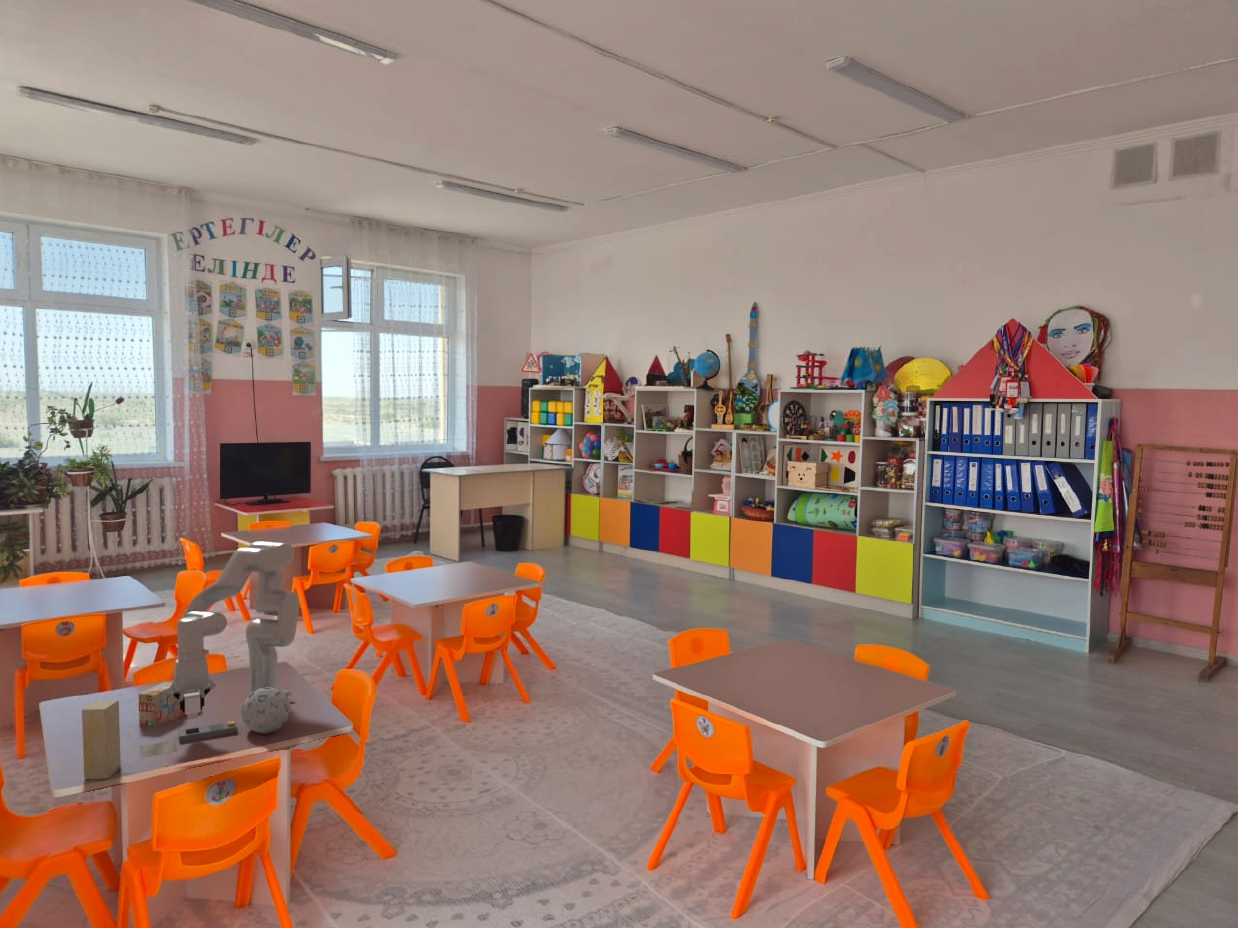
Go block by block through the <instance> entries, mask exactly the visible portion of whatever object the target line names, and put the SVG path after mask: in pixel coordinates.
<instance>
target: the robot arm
mask: <svg viewBox="0 0 1238 928" xmlns="http://www.w3.org/2000/svg"><path fill="white" fill-rule="evenodd" d="M295 552H296V551H295V548H294V547H293V546H292V545H291V544H289V543H287V542H279V541H276V542H275V541H268V540H267V541H263V540H259V541H254V542H252V543H251V544H249V545H248V547H240V548H238V549H236V550H235V551H234V552H233V553H232V555H231V556H230V558H229V559H228V561H227V563H226V565H225V567H224V568H223V570H222V572H221V573H220V575H219V577H218V578H217V579H216V581H215V582H214V583H212V584H211V585H209V586H207V587H206V588H205V589H203V590H202V591H200V592H199V593H198V594H197V595H196V596H195V597H194V598H192V600H190V601H191V602H190V603H189V605H188V606H187V608H186V609H185V611H184V613H183V615H182V618H180V619H179V620H178V621H177V624H176V625H177V626H176V628H177V629H176V630H177V659H176V660H175V662H174V668H173V669H174V670H173V682H172V685H171V686H170V688H169V689H168V690H167V693H168V694H170V695H172V696H174V697H176V698H177V699H178V700H179V701H180V710H182V711H183V713H185V700H184V694H185V691H192V690H198V691H199V694H200V711H202V710H203V707H205V697H206V696H207V695H208V694H209V693H210V692H211V691H212V690H213V689H214V688H216V686H217V684H216V682H214V680H213V679H212V678H211V677H210V673H209V672H210V671H209V664H208V658H207V656H206V655H208V654H210V651H209V649H205V646H204V642H205V640H204V639H205V637H212V636H216V635H220V633H222V632H223V631H224V630H226V627H227V625H228V620H227V617H226V616H225V615H224V614H223V613H222V612H221V613H220V612H217V611H215V612H214V611H208V609H209V608H210V607H211V606H213V605H214V604H216V603H218V602H220V601H224V600H226V599H229V598H232V597H235V596H237V595H239V594H240V593H241V591H243V588H244V586H245V585H246V582H247V581H248V579H249V577H250V575H251V574H252V573H257V574H258V575H257V576H258V577H257V578H258V582H257V585H256V586H257V587H256V595H255V600H254V601H255V602H254V609H255V612H256V613H258V614H260V615H264V616H271V617H272V616H276V617H278V619H273V618H256V619H253V620H251V621H250V622H249V623H247V626H246V629H245V639H246V644H247V647H248V657H249V661H248V663H249V696H250V695H251V694H252V693H253V692H255V691H256V690H258V689H261V688H265V687H272V688H277V689H279V687H278V686H279V684H278V683H279V681H278V679H279V676H278V672H279V670H278V661H279V660H278V653H277V649H276V647H277V648H278V647H279V648H284V647H285V648H287V647H289V646H290V645H291V644H292V643H293V642H294V640H295V636H296V632H297V626H298V619H299V613H300V599H299V595H298V594H297V593H296V592H294V591H292V590H286V589H283V585H284V584H283V583H284V574H283V570H282V569H283V568H285V567H287V566H288V565H290V564H291V563H292V562H293V560H294V559H295ZM174 688H175V691H176V692H175V691H173V690H174ZM280 690H281V689H280ZM281 691H282V692H283V693H285V694H286V695H287V697H290V696H292V690H291V689H290V690H287V688H286V689H283V690H281ZM177 692H180V693H177Z"/></svg>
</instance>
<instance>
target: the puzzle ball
mask: <svg viewBox="0 0 1238 928" xmlns="http://www.w3.org/2000/svg"><path fill="white" fill-rule="evenodd" d="M290 713H291V701H290V699H289V696H287V695H286V694H285V693H283V692H282V691H281V689H279V688H278V689H277V688H272V687H265V688H261V689H258V690H256V691H255V692H253V693H252V694H251V695H250V694H249V696H248V697H246V699H245V700H244V703H243V705H242V707H241V717H242V721H243V723H244V724H245V726H246V728H248V729H249V730H250V731H252V732H255V733H259V734H262V735H266V734H270V733H275V732H276V731H278V730H279V729H281V728H282V727H283V726H284V725H285V724H286V722H287V721H288V719H289V717H290Z"/></svg>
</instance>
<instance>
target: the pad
mask: <svg viewBox="0 0 1238 928" xmlns="http://www.w3.org/2000/svg"><path fill="white" fill-rule="evenodd" d="M174 752H178V750H177V742H176V740H175V739H174V740H167V741H162V742H155V743H150V744H145V745H140V746H139V759H140V758H145V757H146V758H147V757H152V756H156V755H157V756H158V755H163V754H169V753H174Z"/></svg>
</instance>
